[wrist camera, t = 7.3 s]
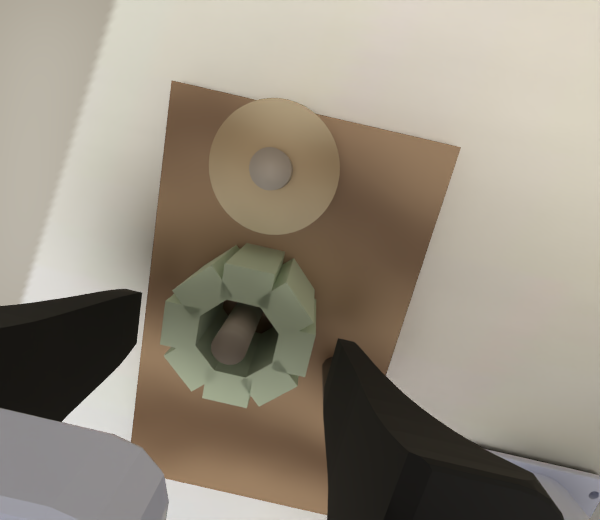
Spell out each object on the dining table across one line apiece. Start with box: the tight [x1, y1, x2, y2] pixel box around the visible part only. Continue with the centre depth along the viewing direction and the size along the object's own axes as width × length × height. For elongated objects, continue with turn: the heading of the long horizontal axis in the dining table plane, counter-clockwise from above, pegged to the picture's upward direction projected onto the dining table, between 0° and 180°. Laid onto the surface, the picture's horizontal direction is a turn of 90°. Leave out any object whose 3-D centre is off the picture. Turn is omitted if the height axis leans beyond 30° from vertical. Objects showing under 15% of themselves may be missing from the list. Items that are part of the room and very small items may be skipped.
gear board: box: [131, 81, 461, 515], centre depth 14 cm, size 20×12×5 cm, turn 167°
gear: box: [160, 243, 316, 408], centre depth 14 cm, size 6×6×4 cm
